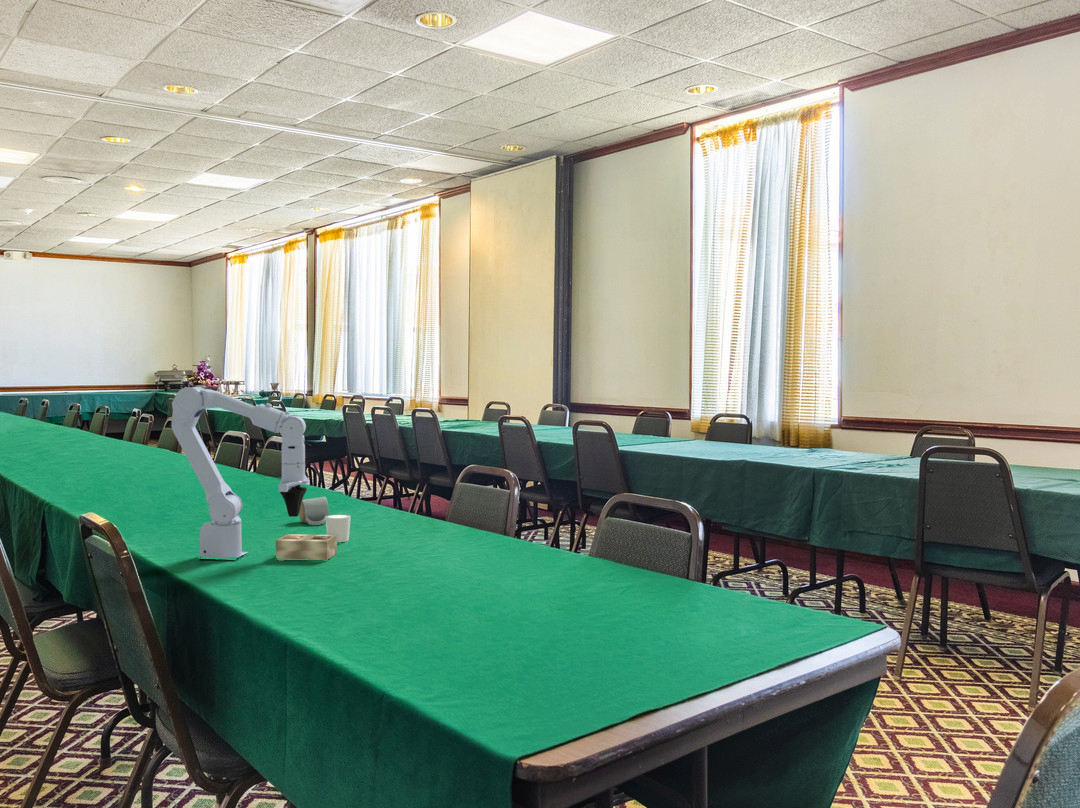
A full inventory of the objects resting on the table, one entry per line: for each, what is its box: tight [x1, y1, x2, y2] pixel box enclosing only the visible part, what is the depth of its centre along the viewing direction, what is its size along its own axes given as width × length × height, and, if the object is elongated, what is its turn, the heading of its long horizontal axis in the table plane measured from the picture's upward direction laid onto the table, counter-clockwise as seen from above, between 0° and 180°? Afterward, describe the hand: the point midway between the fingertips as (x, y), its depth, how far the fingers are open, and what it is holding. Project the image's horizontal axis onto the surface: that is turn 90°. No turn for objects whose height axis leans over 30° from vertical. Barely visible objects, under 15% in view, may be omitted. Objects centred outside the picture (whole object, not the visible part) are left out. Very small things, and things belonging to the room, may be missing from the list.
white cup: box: [325, 513, 352, 543], centre depth 235 cm, size 7×7×7 cm
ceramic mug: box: [298, 496, 330, 526], centre depth 262 cm, size 11×8×8 cm
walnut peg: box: [313, 536, 328, 540], centre depth 215 cm, size 4×4×5 cm
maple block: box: [275, 533, 338, 561], centre depth 215 cm, size 13×8×5 cm, turn 87°
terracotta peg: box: [286, 535, 301, 539], centre depth 215 cm, size 4×4×5 cm
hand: (293, 516), depth 216 cm, fingers closed
